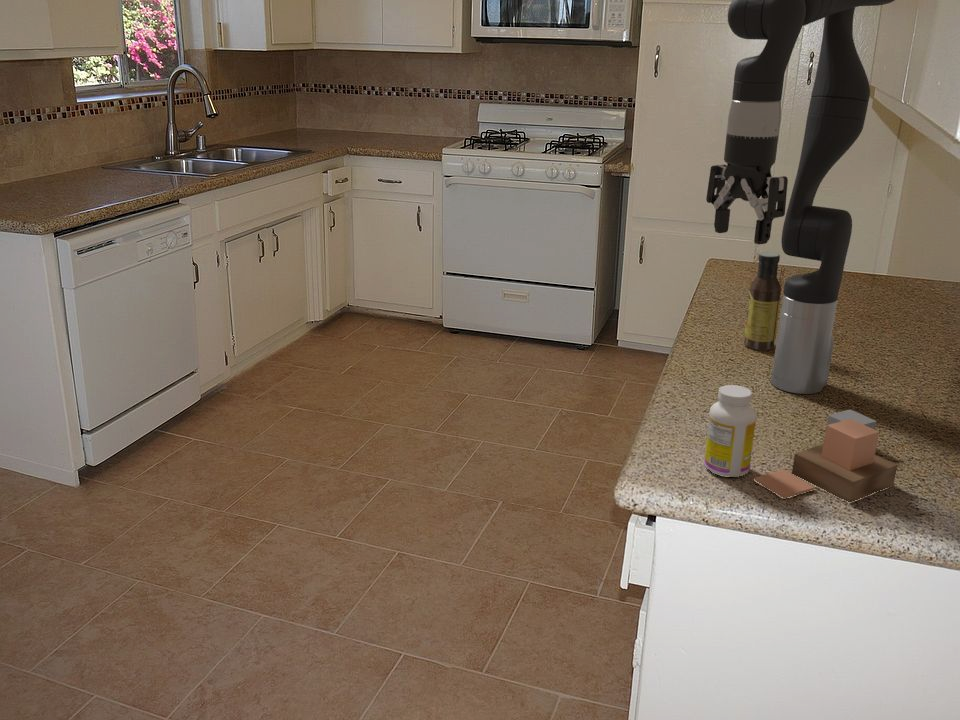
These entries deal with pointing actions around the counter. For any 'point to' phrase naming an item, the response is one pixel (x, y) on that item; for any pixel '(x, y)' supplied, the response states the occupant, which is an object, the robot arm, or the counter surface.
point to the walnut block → (843, 474)
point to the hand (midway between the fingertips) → (740, 237)
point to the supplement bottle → (730, 432)
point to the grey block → (851, 415)
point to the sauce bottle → (763, 304)
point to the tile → (784, 483)
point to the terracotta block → (850, 444)
